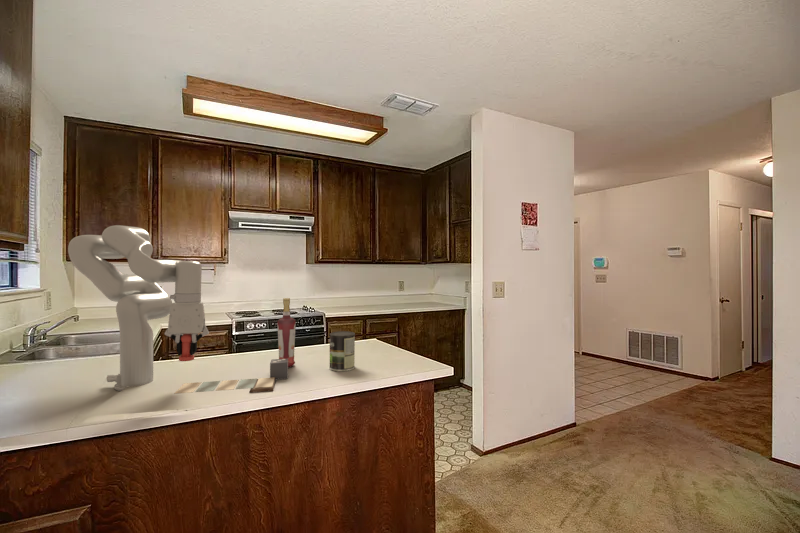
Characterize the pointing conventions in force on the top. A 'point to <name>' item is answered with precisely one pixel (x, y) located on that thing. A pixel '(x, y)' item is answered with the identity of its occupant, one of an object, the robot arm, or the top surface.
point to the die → (279, 368)
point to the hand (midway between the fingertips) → (186, 353)
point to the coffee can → (342, 351)
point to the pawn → (186, 348)
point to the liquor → (286, 334)
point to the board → (230, 385)
